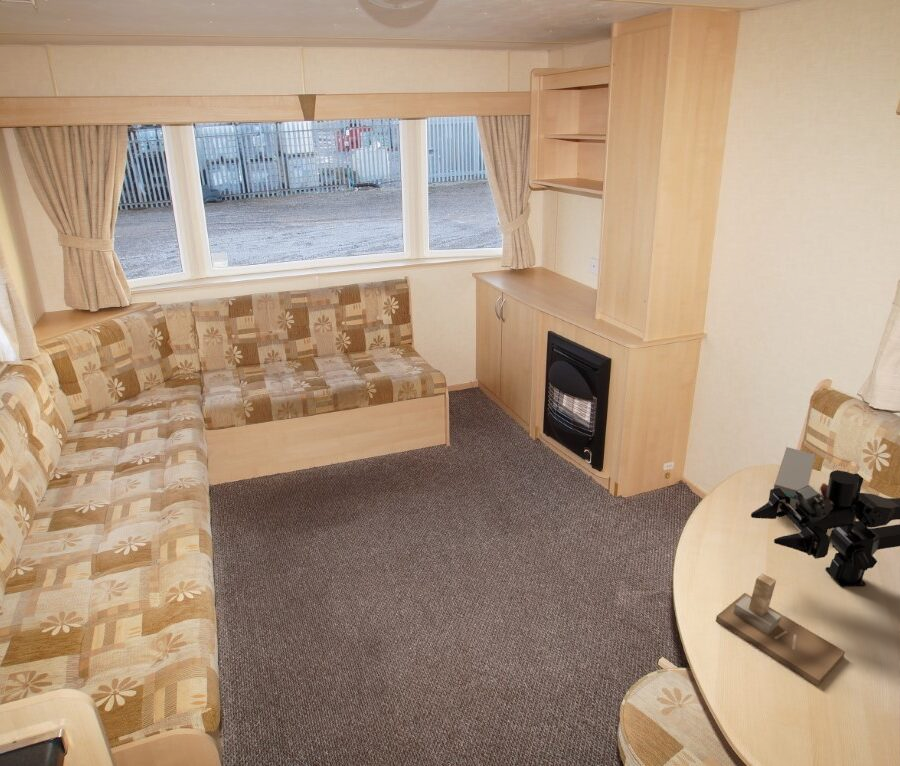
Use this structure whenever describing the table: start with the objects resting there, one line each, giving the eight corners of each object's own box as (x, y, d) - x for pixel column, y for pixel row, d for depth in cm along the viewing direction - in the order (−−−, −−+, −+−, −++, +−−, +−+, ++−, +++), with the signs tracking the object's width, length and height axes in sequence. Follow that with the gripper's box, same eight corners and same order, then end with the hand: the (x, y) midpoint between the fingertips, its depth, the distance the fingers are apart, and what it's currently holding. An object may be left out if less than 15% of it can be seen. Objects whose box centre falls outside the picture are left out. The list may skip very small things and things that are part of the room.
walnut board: (715, 620, 144) (716, 615, 143) (743, 597, 150) (744, 592, 150) (817, 686, 128) (819, 680, 127) (843, 656, 135) (845, 651, 134)
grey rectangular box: (797, 527, 176) (806, 493, 172) (765, 517, 180) (774, 484, 176) (806, 485, 196) (815, 454, 191) (778, 477, 200) (786, 447, 195)
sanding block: (733, 612, 144) (743, 573, 139) (743, 604, 146) (753, 565, 142) (768, 634, 138) (779, 594, 134) (778, 625, 141) (790, 585, 136)
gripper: (806, 465, 154) (744, 475, 152) (861, 513, 137) (792, 526, 136) (798, 502, 159) (738, 513, 157) (851, 553, 142) (785, 566, 141)
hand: (762, 527), depth 148 cm, fingers open, 9 cm apart
